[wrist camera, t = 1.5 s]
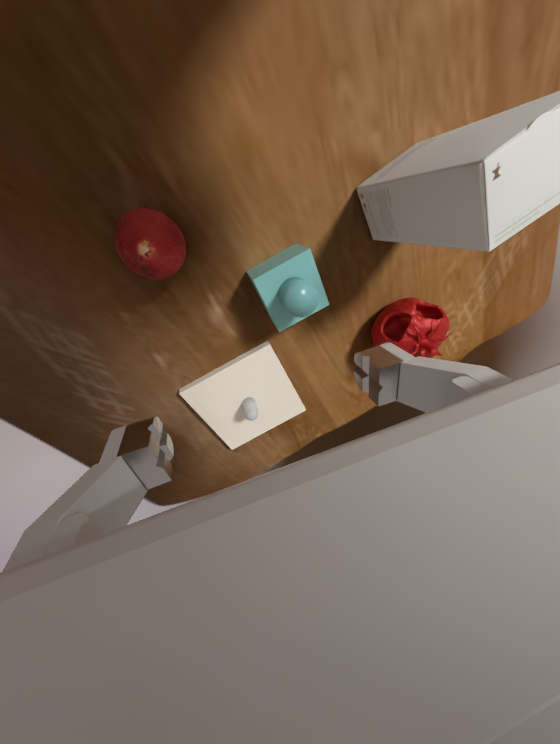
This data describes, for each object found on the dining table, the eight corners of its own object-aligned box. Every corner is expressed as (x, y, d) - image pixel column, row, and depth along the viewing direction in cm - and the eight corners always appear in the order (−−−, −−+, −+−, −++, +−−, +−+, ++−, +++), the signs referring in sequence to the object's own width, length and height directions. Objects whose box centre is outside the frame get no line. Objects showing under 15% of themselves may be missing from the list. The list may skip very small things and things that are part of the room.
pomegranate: (422, 337, 42) (471, 365, 35) (368, 363, 42) (404, 396, 35) (421, 280, 37) (479, 298, 29) (358, 309, 37) (399, 335, 29)
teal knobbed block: (295, 243, 30) (321, 252, 24) (314, 293, 34) (341, 313, 27) (246, 271, 30) (258, 287, 24) (270, 318, 34) (286, 343, 27)
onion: (177, 280, 29) (170, 301, 22) (119, 255, 26) (92, 270, 20) (195, 228, 27) (193, 233, 20) (134, 195, 24) (109, 189, 18)
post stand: (267, 340, 35) (275, 356, 32) (303, 405, 43) (313, 424, 40) (179, 388, 36) (177, 410, 32) (231, 444, 44) (234, 467, 40)
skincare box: (370, 240, 32) (483, 260, 19) (352, 183, 28) (477, 160, 15) (430, 199, 31) (588, 191, 18) (419, 135, 28) (609, 69, 15)
